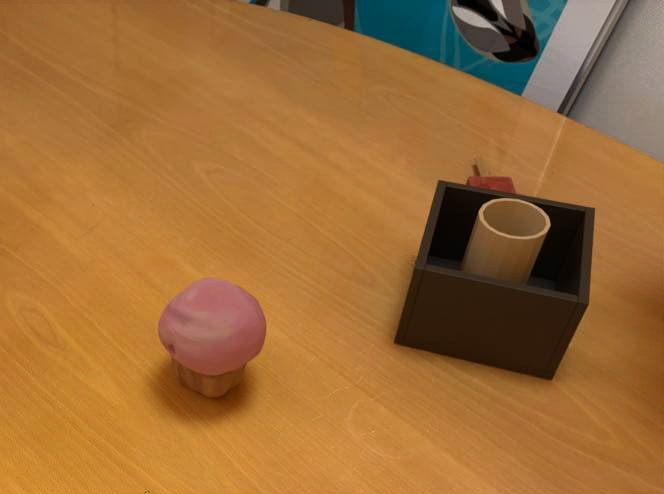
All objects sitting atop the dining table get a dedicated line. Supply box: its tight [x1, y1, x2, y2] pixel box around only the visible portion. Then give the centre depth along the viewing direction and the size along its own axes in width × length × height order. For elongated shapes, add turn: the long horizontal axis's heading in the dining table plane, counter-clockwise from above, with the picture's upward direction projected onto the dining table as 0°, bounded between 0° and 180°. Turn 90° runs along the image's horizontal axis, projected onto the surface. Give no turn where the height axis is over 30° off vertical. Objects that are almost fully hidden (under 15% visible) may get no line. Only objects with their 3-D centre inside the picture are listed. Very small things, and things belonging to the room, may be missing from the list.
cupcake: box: [157, 277, 267, 399], centre depth 73 cm, size 9×9×10 cm
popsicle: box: [465, 155, 517, 194], centre depth 92 cm, size 4×2×15 cm
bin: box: [393, 179, 596, 381], centre depth 78 cm, size 14×14×9 cm
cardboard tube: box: [459, 198, 551, 285], centre depth 77 cm, size 6×6×10 cm
